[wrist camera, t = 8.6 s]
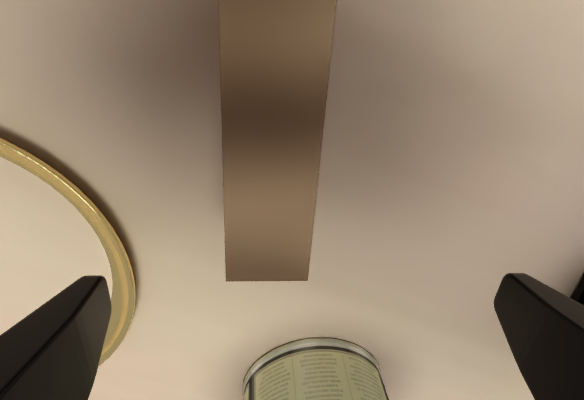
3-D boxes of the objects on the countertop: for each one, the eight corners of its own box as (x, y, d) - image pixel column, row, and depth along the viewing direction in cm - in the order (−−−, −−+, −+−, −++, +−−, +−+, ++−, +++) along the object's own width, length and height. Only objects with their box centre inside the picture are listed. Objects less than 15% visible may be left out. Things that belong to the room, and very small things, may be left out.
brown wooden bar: (297, 220, 22) (309, 289, 17) (231, 219, 22) (225, 290, 17) (326, -158, 14) (363, -222, 10) (225, -168, 14) (210, -240, 9)
